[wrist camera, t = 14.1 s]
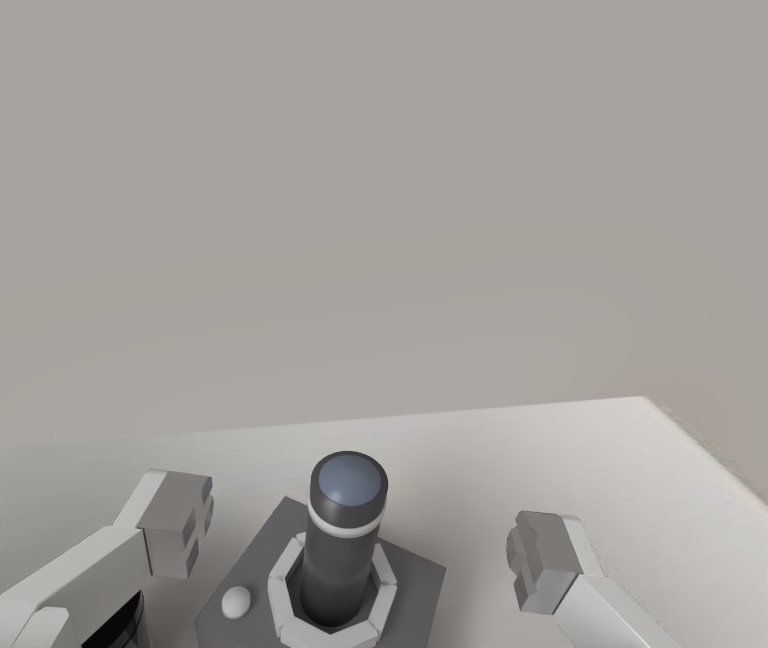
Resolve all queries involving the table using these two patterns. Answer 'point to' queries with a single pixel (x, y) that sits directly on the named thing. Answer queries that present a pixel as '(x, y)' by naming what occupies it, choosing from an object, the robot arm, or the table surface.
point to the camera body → (283, 605)
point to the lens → (341, 535)
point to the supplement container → (124, 628)
